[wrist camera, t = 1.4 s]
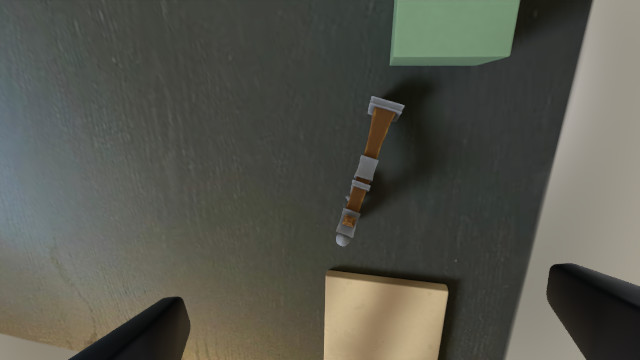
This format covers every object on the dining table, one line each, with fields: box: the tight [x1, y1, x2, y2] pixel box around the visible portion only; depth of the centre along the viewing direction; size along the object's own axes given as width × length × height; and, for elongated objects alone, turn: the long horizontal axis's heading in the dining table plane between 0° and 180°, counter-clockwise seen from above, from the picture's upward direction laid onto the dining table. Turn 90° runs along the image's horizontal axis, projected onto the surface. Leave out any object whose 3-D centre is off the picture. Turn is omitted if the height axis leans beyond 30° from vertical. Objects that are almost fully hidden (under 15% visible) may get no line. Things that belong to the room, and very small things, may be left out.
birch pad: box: [324, 270, 448, 360], centre depth 21 cm, size 8×9×1 cm
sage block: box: [390, 0, 520, 66], centre depth 14 cm, size 4×4×4 cm
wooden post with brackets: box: [336, 96, 404, 246], centre depth 17 cm, size 2×8×4 cm, turn 164°
